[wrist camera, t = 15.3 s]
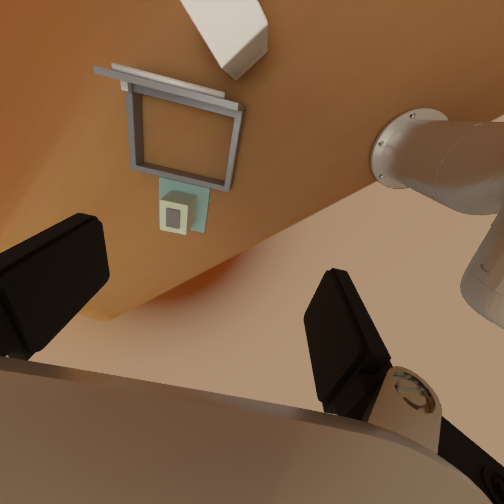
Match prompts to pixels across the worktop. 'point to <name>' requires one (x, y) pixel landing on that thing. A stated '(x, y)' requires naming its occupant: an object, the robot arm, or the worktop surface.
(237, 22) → the small box
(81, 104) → the worktop surface
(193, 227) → the mat
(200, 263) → the worktop surface
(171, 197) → the block
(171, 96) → the grey open box
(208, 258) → the worktop surface
